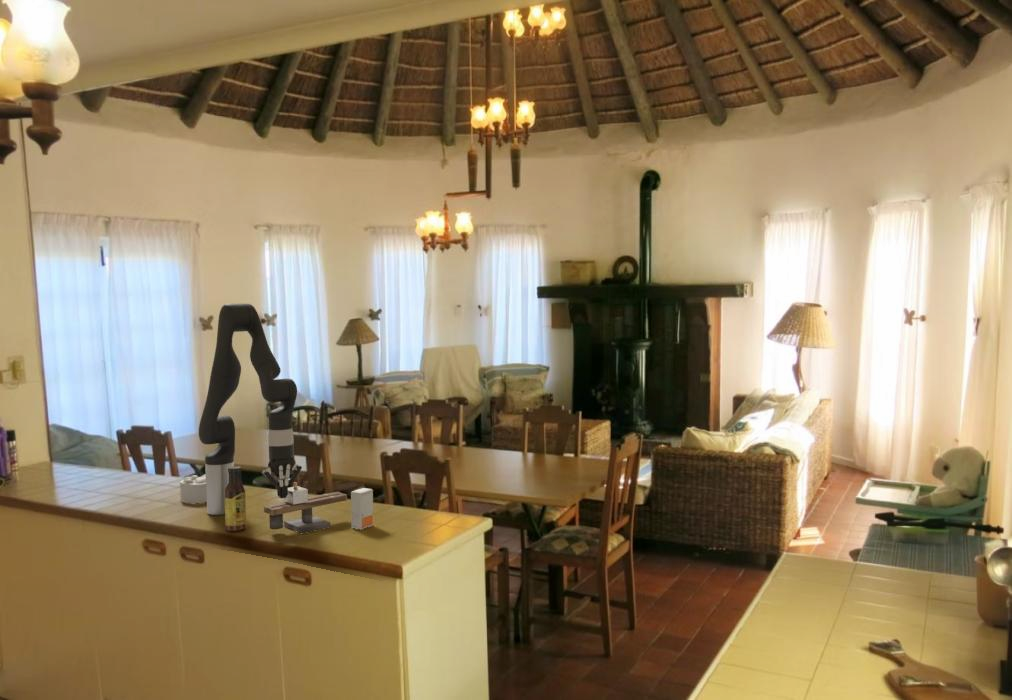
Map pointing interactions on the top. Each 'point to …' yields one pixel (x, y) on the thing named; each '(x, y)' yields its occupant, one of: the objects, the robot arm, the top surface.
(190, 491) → the lumpy-topped squat cylinder
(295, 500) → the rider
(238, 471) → the sauce bottle
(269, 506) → the balance beam
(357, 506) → the skincare box
